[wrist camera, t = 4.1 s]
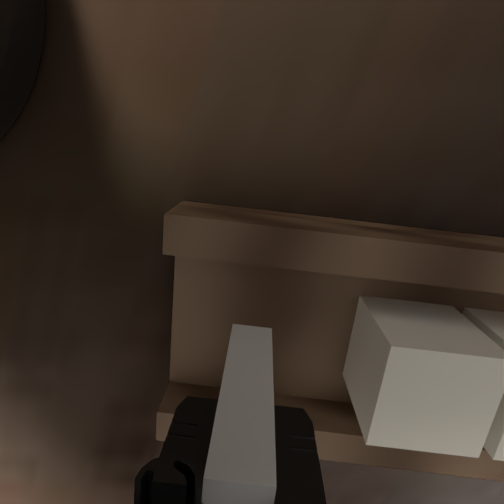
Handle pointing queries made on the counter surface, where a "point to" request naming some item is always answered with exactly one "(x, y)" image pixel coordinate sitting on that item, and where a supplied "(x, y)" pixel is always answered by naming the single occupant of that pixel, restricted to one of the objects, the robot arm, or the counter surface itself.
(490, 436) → the white cube
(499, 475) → the slot board
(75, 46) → the counter surface
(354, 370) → the pale grey cube
